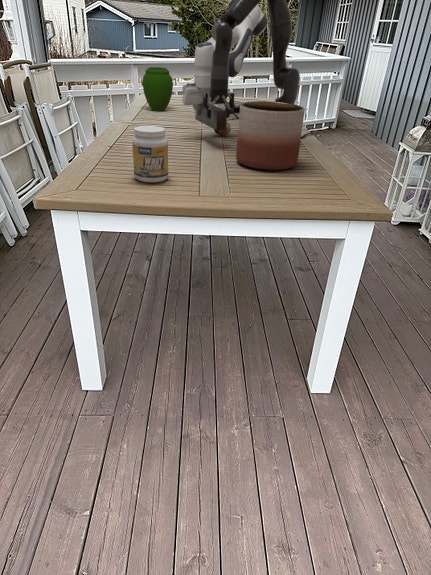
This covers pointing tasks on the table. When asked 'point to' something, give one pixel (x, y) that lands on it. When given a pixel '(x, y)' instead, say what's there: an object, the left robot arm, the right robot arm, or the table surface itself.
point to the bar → (212, 117)
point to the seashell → (224, 132)
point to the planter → (269, 134)
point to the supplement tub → (150, 154)
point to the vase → (157, 88)
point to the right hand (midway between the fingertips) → (217, 118)
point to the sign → (236, 106)
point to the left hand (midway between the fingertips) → (202, 114)
